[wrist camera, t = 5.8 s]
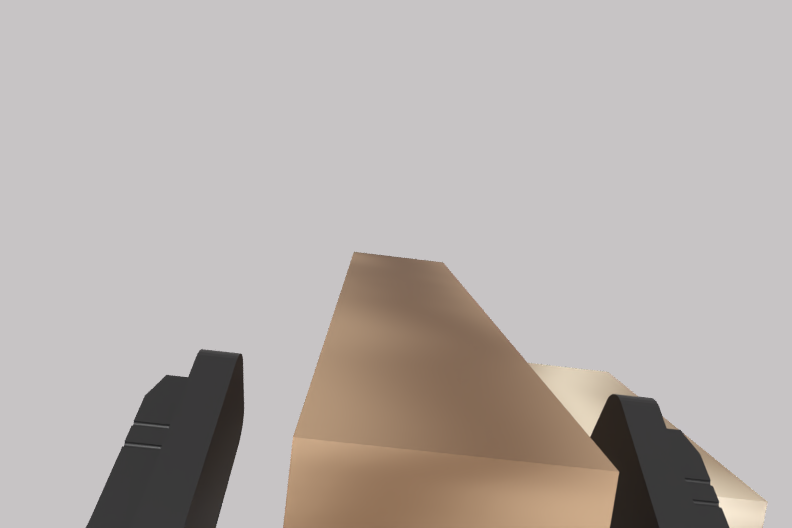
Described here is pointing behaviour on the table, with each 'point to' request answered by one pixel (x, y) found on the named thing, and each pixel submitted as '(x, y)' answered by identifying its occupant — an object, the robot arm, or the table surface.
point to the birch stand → (592, 389)
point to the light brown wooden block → (434, 418)
